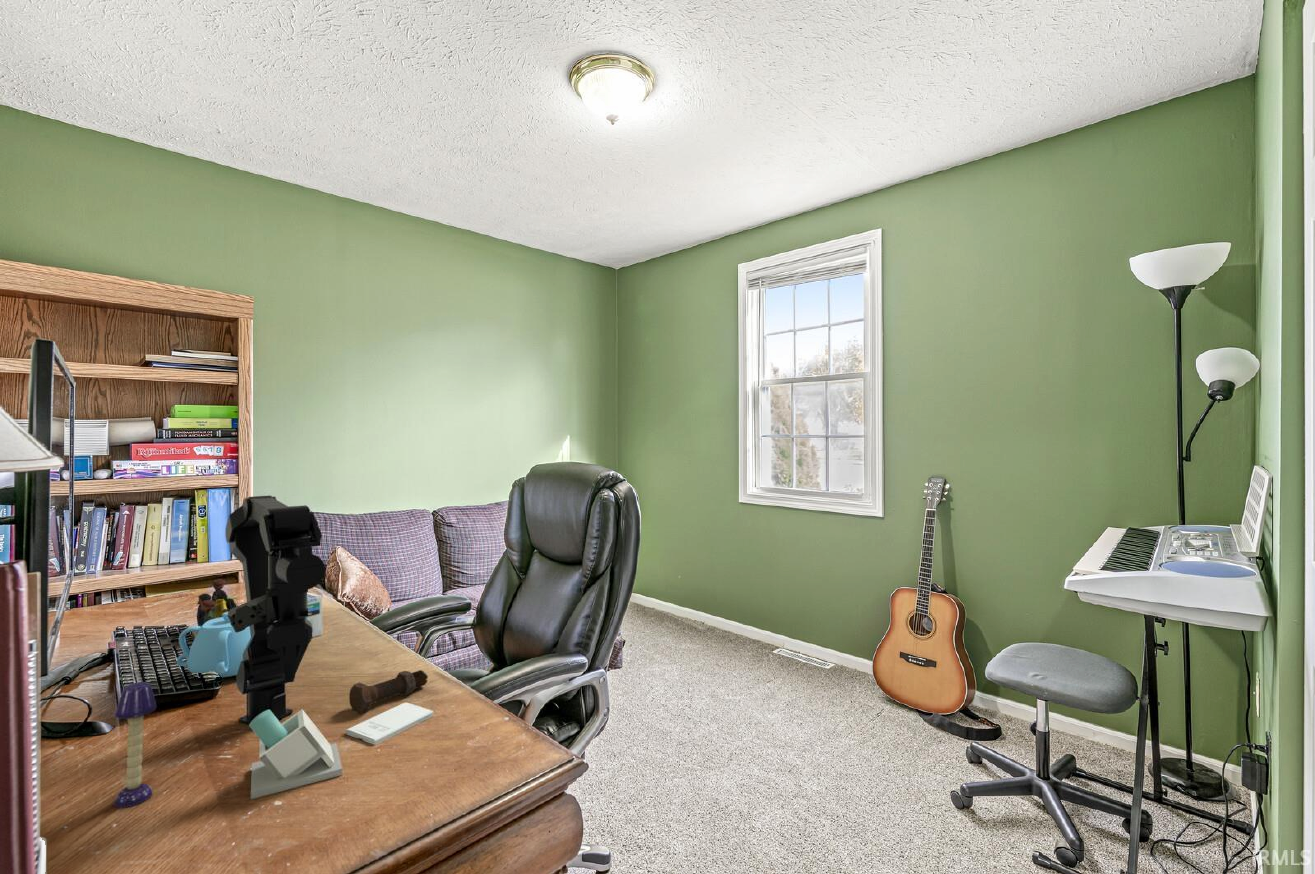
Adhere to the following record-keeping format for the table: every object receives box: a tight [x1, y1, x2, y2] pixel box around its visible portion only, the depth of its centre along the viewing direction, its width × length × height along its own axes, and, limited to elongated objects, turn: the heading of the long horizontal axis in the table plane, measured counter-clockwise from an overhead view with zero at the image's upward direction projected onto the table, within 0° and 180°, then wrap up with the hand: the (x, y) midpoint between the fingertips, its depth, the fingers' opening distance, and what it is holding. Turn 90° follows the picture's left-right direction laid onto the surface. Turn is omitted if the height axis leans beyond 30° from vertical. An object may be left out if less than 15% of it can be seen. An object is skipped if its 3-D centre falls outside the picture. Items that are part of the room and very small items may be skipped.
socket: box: [250, 708, 343, 800], centre depth 98 cm, size 12×10×8 cm
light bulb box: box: [306, 592, 323, 638], centre depth 165 cm, size 11×7×11 cm, turn 58°
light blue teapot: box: [176, 612, 251, 678], centre depth 140 cm, size 16×16×14 cm
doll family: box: [193, 578, 239, 637], centre depth 167 cm, size 23×9×13 cm, turn 49°
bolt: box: [348, 669, 429, 714], centre depth 125 cm, size 6×5×15 cm
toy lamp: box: [113, 681, 158, 808], centre depth 91 cm, size 5×5×17 cm
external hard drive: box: [345, 702, 434, 746], centre depth 114 cm, size 2×8×12 cm
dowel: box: [248, 710, 289, 749], centre depth 97 cm, size 3×3×9 cm
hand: (288, 670), depth 106 cm, fingers open, 9 cm apart
